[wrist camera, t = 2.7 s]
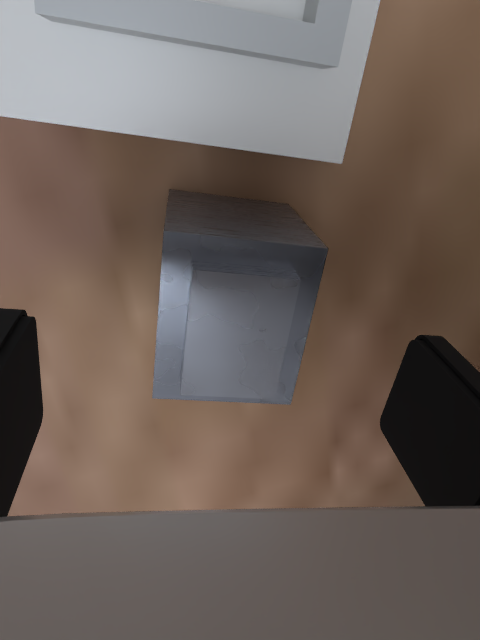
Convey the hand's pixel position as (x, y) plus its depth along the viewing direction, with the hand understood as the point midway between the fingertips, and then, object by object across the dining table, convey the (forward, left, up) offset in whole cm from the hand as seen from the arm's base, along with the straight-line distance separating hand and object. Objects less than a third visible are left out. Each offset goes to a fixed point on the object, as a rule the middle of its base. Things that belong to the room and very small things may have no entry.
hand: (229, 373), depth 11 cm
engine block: (-1, +1, -10) cm, 10 cm away
